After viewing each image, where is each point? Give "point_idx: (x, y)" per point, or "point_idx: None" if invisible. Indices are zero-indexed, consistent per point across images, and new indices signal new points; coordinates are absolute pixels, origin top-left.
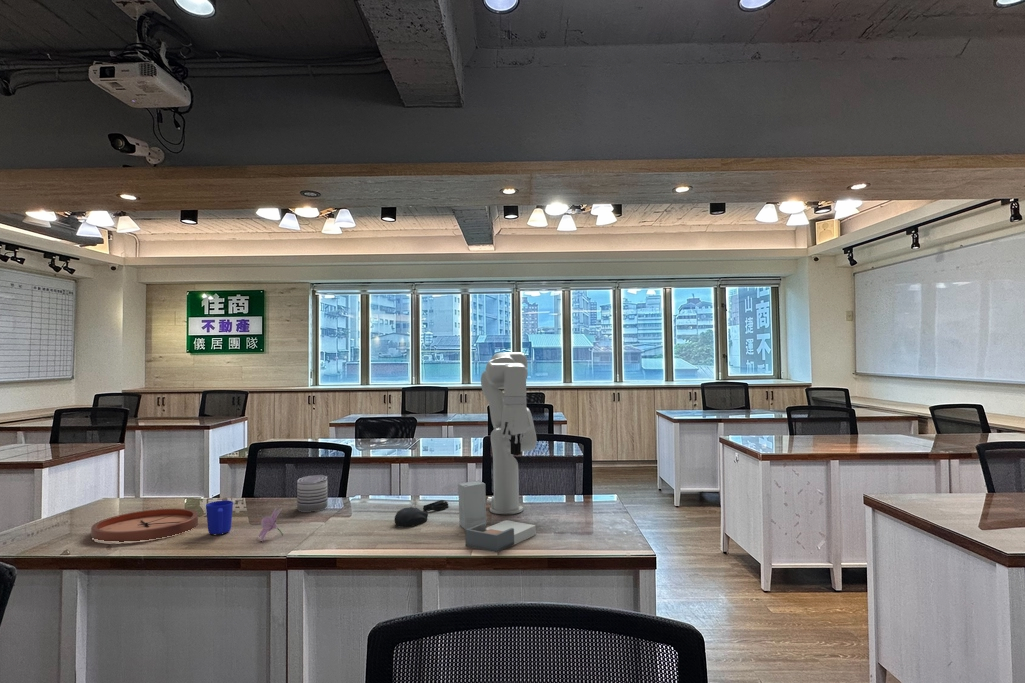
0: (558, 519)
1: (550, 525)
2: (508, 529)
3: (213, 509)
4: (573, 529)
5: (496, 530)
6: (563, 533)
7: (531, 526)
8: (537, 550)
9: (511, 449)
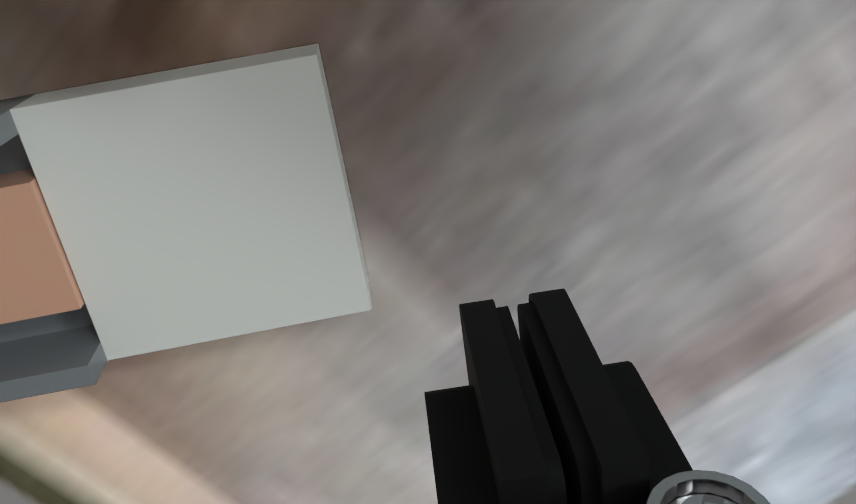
0: (748, 153)
1: (593, 210)
2: (46, 378)
3: None
4: (603, 361)
5: (45, 241)
6: None
7: (331, 308)
8: (163, 470)
9: (431, 428)
